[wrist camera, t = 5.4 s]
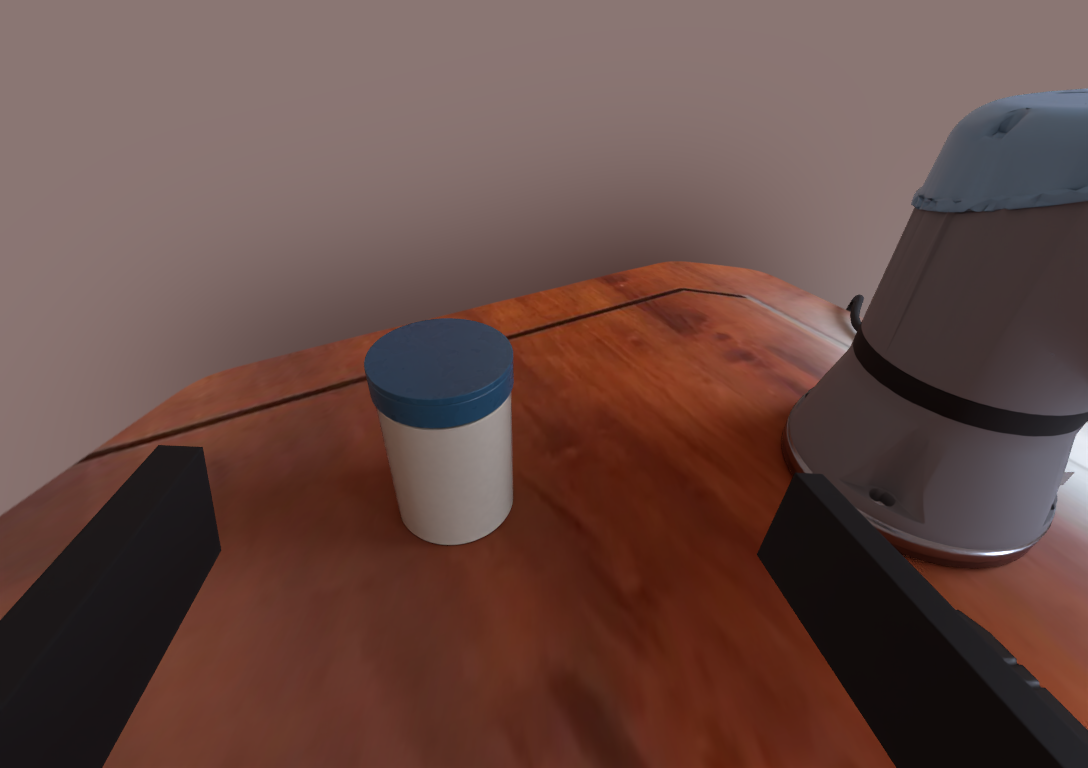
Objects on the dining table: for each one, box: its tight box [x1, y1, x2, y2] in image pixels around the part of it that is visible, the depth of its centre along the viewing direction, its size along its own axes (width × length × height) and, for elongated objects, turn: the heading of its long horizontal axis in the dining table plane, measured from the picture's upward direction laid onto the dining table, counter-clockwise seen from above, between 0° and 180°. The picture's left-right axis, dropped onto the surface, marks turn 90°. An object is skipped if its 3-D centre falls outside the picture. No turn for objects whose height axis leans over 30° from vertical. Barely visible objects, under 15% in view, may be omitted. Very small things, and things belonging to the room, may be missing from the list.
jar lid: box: [364, 318, 514, 428], centre depth 27 cm, size 8×8×2 cm
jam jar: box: [376, 393, 513, 545], centre depth 30 cm, size 7×7×10 cm
